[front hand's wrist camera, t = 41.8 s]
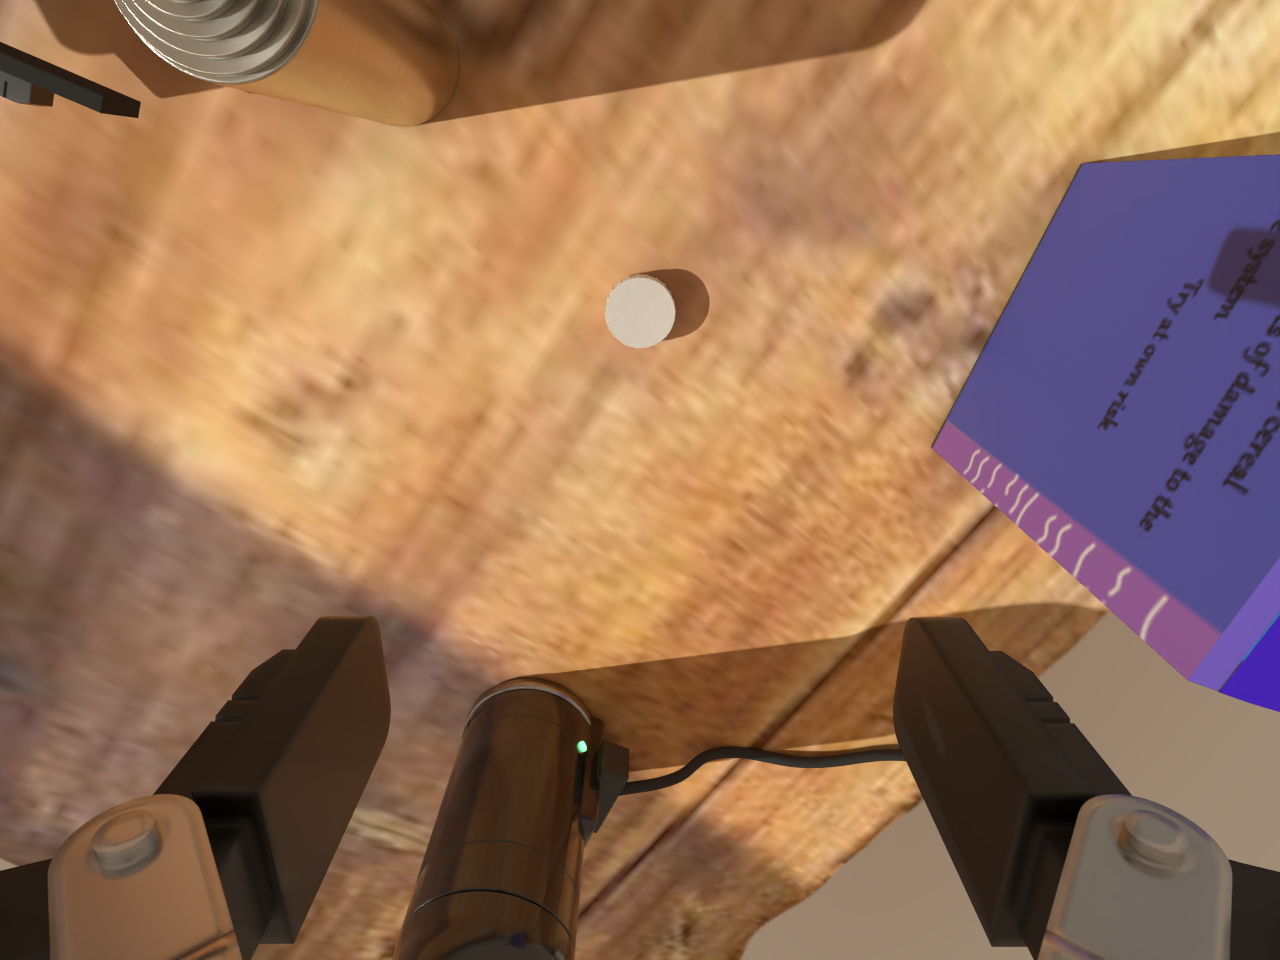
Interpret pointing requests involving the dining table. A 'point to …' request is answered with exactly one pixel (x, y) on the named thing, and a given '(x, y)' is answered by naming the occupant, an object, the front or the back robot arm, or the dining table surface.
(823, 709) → the dining table surface
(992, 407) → the cereal box
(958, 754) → the front robot arm
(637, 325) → the cap
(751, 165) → the dining table surface
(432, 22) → the bottle
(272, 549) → the dining table surface
